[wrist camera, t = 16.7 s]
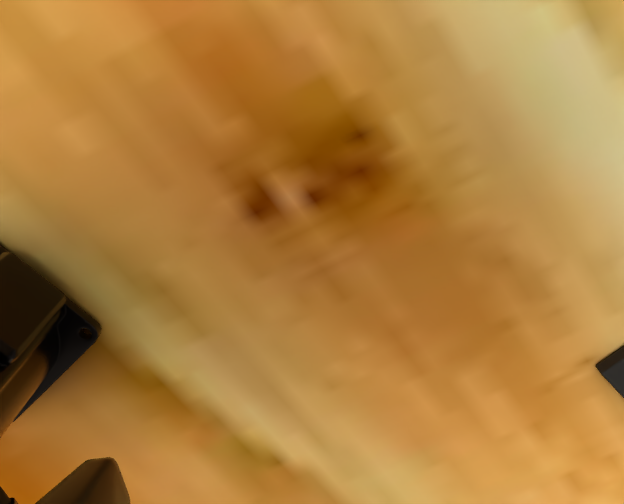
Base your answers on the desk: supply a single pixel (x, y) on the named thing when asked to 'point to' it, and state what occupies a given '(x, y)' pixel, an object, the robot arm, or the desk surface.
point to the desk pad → (614, 370)
